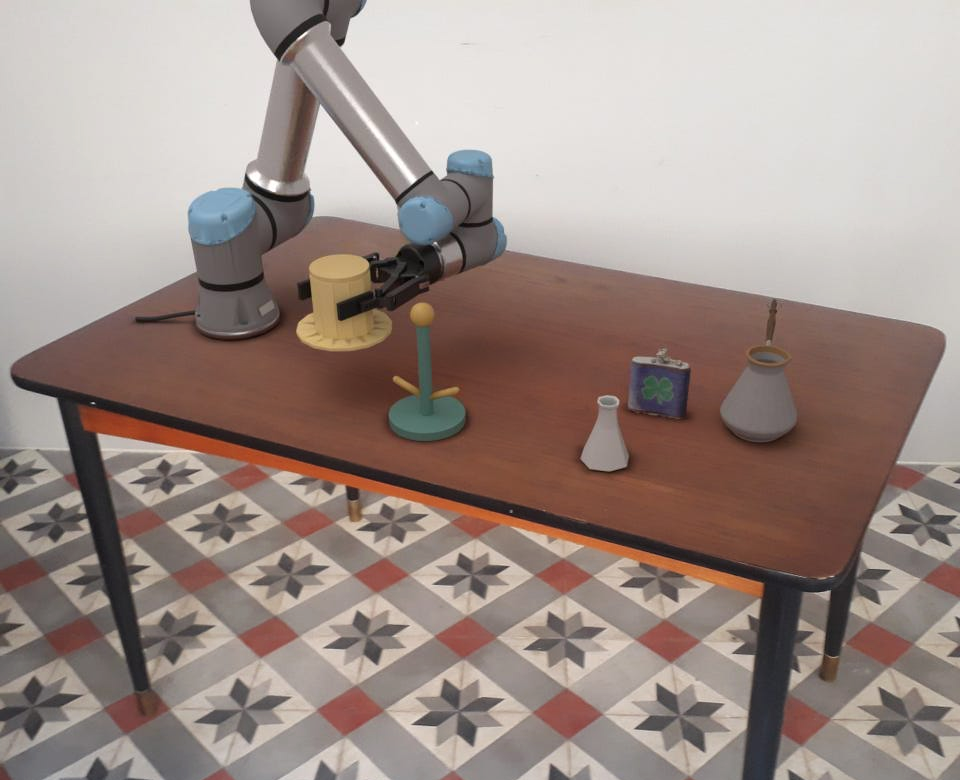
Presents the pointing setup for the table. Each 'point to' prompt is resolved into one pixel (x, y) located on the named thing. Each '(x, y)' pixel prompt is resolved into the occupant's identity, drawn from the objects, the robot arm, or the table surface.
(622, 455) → the flask
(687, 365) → the flask
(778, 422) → the coffee pot
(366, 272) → the hat
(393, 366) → the table surface
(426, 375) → the hat stand
